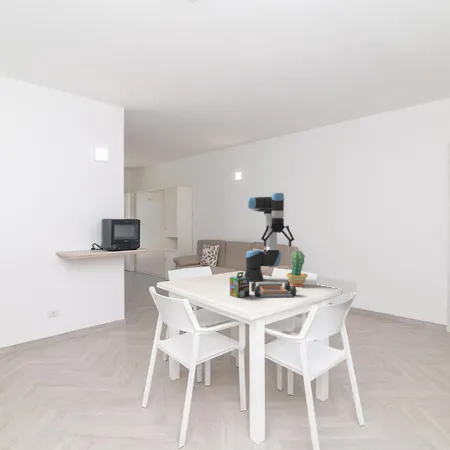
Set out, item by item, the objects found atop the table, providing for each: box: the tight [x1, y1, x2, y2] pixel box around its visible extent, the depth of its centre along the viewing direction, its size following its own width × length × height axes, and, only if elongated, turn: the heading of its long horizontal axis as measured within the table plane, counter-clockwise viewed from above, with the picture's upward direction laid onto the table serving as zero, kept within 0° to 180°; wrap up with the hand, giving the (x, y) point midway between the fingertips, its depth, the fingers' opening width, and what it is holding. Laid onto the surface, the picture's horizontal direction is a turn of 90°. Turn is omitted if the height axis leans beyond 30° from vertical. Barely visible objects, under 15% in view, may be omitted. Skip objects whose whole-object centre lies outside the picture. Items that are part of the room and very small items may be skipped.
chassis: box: [250, 280, 297, 299], centre depth 206 cm, size 24×25×6 cm
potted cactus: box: [285, 249, 309, 288], centre depth 229 cm, size 15×15×25 cm
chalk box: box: [229, 271, 250, 299], centre depth 198 cm, size 9×9×15 cm
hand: (277, 251), depth 200 cm, fingers open, 13 cm apart
